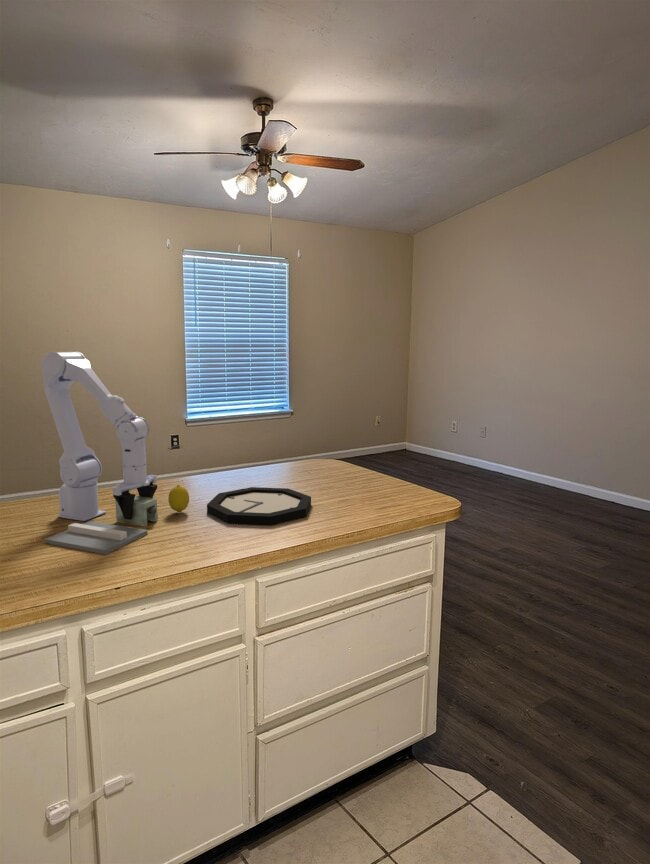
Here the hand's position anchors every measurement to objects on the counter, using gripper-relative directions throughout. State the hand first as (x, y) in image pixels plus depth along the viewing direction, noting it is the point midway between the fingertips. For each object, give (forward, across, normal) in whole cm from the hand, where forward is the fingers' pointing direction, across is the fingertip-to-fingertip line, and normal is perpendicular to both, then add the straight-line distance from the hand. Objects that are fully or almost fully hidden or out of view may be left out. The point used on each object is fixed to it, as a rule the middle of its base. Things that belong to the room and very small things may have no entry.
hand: (136, 515), depth 140 cm
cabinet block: (+2, 0, 0) cm, 2 cm away
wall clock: (+2, +22, -25) cm, 33 cm away
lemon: (+2, +10, -6) cm, 12 cm away
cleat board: (+2, -14, 0) cm, 14 cm away
